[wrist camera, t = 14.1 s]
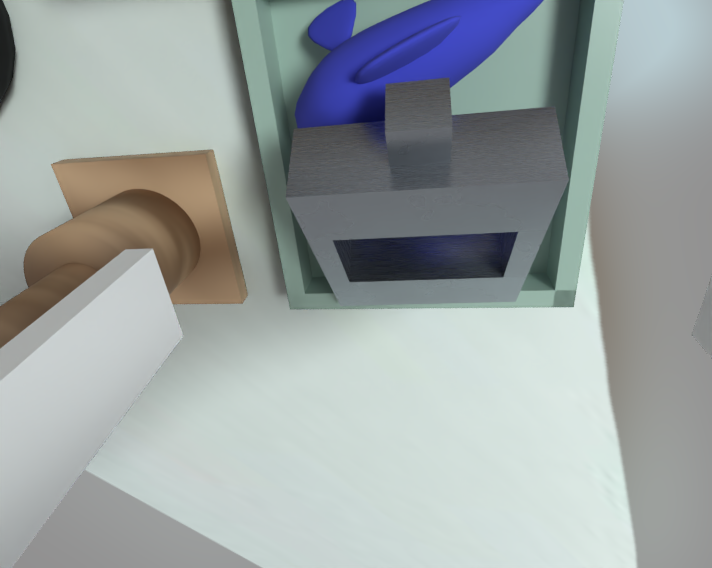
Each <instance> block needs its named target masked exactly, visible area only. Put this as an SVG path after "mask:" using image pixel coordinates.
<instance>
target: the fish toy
mask: <svg viewBox="0 0 712 568" xmlns="http://www.w3.org/2000/svg"><path fill="white" fill-rule="evenodd" d="M543 1H544V0H429V1H427V2H424V3H422V4H419V5H417V6H415V7H412V8H410V9H408V10H406V11H403V12H401V13H399V14H396V15H394V16H392V17H390V18H388V19H385V20H383V21H381V22H379V23H377V24H375V25H373V26H371V27H369V28H367V29H365V30H363V31H361V32H359V33H357V34H356V35H354V36H352V32H353V27H354V22H355V18H356V2H355V1H354V0H340V1H339V2H337V3H335V4H333V5H332V6H330V7H328V8H327V9H325V10H324V11H323V12H322V13H321V14H319V15H318V16H317V17H316V18H315V19H314V20H313V22H312V23H311V24H310V26H309V27H308V36H309V37H310V39H311V40H312V41H313V42H314V43H316V44H318V45H320V46H321V47H323V48H325V49H327V50H329V51H331V52H330V53H329V54H327V55H326V56H325V57H324V58H323V60H322V61H321V62H320V63H319V64H318V66H317V67H316V68H315V69H314V71H313V72H312V73H311V75H310V77H309V78H308V80H307V82H306V84H305V86H304V88H303V90H302V92H301V94H300V96H299V99H298V101H297V104H296V110H295V119H296V123H297V128H308V127H320V126H332V125H343V124H355V123H366V122H378V121H385V89H386V84H389V83H399V82H409V81H419V80H429V79H439V78H449V80H450V88H451V87H452V86H454V85H455V84H456V83H458V82H459V81H460V80H461V79H463V78H464V77H465V76H467V75H468V74H469V73H470V72H472V71H473V70H474V69H476V68H477V67H478V66H479V65H480V64H481V63H483V62H484V61H485V60H486V59H487V58H488V57H489V56H491V55H492V54H493V53H494V52H495V51H496V50H497V49H498V48H499V47H500V46H501V44H502V43H503V42H504V41H505V40H506V39H507V38H508V37H509V36H510V35H511V34H512V32H513V31H514V30H515V29H516V28H517V27H518V26H519V25H520V24H521V23H522V22H523V21H524V20H525V19H526V18H528V17H529V16H530V15H531V14H532V13H533V12H534V11H535V9H536V8H537V7H538V6H539V5H540V4H541V3H542V2H543ZM351 36H352V37H351Z"/></svg>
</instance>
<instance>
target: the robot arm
mask: <svg viewBox="0 0 712 568" xmlns="http://www.w3.org/2000/svg"><path fill="white" fill-rule="evenodd" d="M692 336H693V337H694V338H695V339H696V341H697V342H698V343H699V344H700V345H701V346H702V348H703V349H704V350H705V351H706V352H707V354H708V355H709V356H710V357H711V358H712V276H711V279H710V282H709V286H708V288H707V291H706V294H705V297H704V300H703V303H702V306H701V309H700V312H699V314H698V317H697V320H696V323H695V326H694V329H693V332H692ZM182 337H183V333H182V330H181V327H180V324H179V322H178V319H177V316H176V313H175V310H174V307H173V304H172V302H171V299H170V296H169V293H168V290H167V287H166V285H165V282H164V279H163V276H162V273H161V270H160V267H159V265H158V262H157V259H156V256H155V253H154V250H153V248H152V249H125V250H124V251H123V252H121V253H120V254H119V255H118V256H116V257H115V258H114V259H113V260H111V261H110V262H109V263H108V264H106V265H105V266H104V267H103V268H101V269H100V270H99V271H97V272H96V273H95V274H94V275H92V276H91V277H90V278H89V279H87V280H86V281H85V282H84V283H82V284H81V285H80V286H79V287H77V288H76V289H75V290H74V291H72V292H71V293H70V294H68V295H67V296H66V297H65V298H63V299H62V300H61V301H60V302H58V303H57V304H56V305H55V306H53V307H52V308H51V309H50V310H48V311H47V312H46V313H44V314H43V315H42V316H41V317H39V318H38V319H37V320H36V321H34V322H33V323H32V324H31V325H29V326H28V327H27V328H26V329H24V330H23V331H22V332H21V333H19V334H18V335H17V336H15V337H14V338H13V339H12V340H10V341H9V342H8V343H7V344H5V345H4V346H3V347H2V348H0V568H12V567H13V565H14V564H15V563H16V561H17V560H18V558H19V557H20V556H21V555H22V553H23V552H24V550H25V549H26V548H27V546H28V545H29V544H30V542H31V541H32V540H33V538H34V537H35V536H36V534H37V533H38V532H39V530H40V529H41V528H42V526H43V525H44V523H45V522H46V521H47V519H48V518H49V517H50V515H51V514H52V513H53V511H54V510H55V508H56V507H57V506H58V504H59V503H60V502H61V501H62V499H63V498H64V496H65V495H66V494H67V492H68V491H69V490H70V488H71V487H72V486H73V484H74V483H75V482H76V480H77V479H78V478H79V476H80V475H81V474H82V472H83V471H84V470H85V468H86V467H87V465H88V464H89V463H90V461H91V460H92V459H93V457H94V456H95V455H96V453H97V452H98V451H99V449H100V448H101V447H102V445H103V444H104V443H105V441H106V440H107V438H108V437H109V436H110V434H111V433H112V432H113V430H114V429H115V428H116V426H117V425H118V424H119V422H120V421H121V420H122V418H123V417H124V416H125V414H126V413H127V411H128V410H129V409H130V407H131V406H132V405H133V403H134V402H135V401H136V399H137V398H138V397H139V395H140V394H141V393H142V391H143V390H144V389H145V387H146V386H147V384H148V383H149V382H150V380H151V379H152V378H153V376H154V375H155V374H156V372H157V371H158V370H159V368H160V367H161V366H162V364H163V363H164V361H165V360H166V359H167V357H168V356H169V355H170V353H171V352H172V351H173V349H174V348H175V347H176V345H177V344H178V343H179V341H180V340H181V339H182Z"/></svg>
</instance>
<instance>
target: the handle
mask: <svg viewBox="0 0 712 568" xmlns="http://www.w3.org/2000/svg"><path fill="white" fill-rule="evenodd" d="M51 166H52V168H53V170H54V173H55V175H56V178H57V180H58V182H59V185H60V187H61V190H62V192H63V195H64V197H65V199H66V202H67V204H68V207H69V209H70V211H71V214H72V216H73V219H71V220H69V221H67V222H66V223H64V224H62V225H60V226H58V227H56V228H55V229H53V230H51V231H49V232H47V233H45V234H44V235H42V236H40V237H38V238H37V239H36V240H34V241H33V242H32V243H31V244H30V246H29V247H28V249H27V251H26V254H25V257H24V275H25V279H26V282H27V285H28V287H29V288H27V289H26V290H24V291H23V292H21V293H20V294H18V295H17V296H15V297H14V298H12V299H11V300H9V301H8V302H6V303H5V304H3V305H1V306H0V348H2V347H3V346H4V345H5V344H7V343H8V342H9V341H10V340H12V339H13V338H14V337H15V336H17V335H18V334H19V333H21V332H22V331H23V330H24V329H26V328H27V327H28V326H29V325H31V324H32V323H33V322H34V321H36V320H37V319H38V318H39V317H41V316H42V315H43V314H44V313H46V312H47V311H48V310H50V309H51V308H52V307H53V306H55V305H56V304H57V303H58V302H60V301H61V300H62V299H63V298H65V297H66V296H67V295H68V294H70V293H71V292H72V291H74V290H75V289H76V288H77V287H79V286H80V285H81V284H82V283H84V282H85V281H86V280H87V279H89V278H90V277H91V276H92V275H94V274H95V273H96V272H97V271H99V270H100V269H101V268H103V267H104V266H105V265H106V264H108V263H109V262H110V261H111V260H113V259H114V258H115V257H116V256H118V255H119V254H120V253H121V252H123V251H124V250H125V249H152V248H153V250H154V253H155V256H156V259H157V262H158V265H159V267H160V270H161V273H162V276H163V279H164V282H165V285H166V287H167V290H168V293H169V296H170V299H171V302H172V304H237V303H243V302H244V300H245V299H246V297H247V296H248V293H247V289H246V285H245V281H244V277H243V273H242V268H241V264H240V260H239V256H238V252H237V247H236V243H235V239H234V235H233V231H232V226H231V222H230V218H229V214H228V210H227V206H226V201H225V197H224V193H223V189H222V185H221V180H220V176H219V172H218V168H217V164H216V159H215V155H214V151H213V150H200V151H185V152H171V153H156V154H141V155H126V156H111V157H96V158H81V159H67V160H61V161H59V162H56V163H53V164H51Z"/></svg>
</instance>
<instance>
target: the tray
mask: <svg viewBox="0 0 712 568" xmlns="http://www.w3.org/2000/svg"><path fill="white" fill-rule="evenodd" d="M231 1H232V6H233V11H234V16H235V22H236V27H237V32H238V38H239V43H240V48H241V53H242V59H243V64H244V69H245V74H246V80H247V85H248V90H249V95H250V101H251V106H252V111H253V116H254V122H255V127H256V132H257V137H258V143H259V148H260V153H261V158H262V164H263V169H264V174H265V180H266V185H267V190H268V195H269V201H270V206H271V211H272V216H273V222H274V227H275V232H276V237H277V243H278V248H279V253H280V258H281V264H282V269H283V274H284V279H285V285H286V290H287V295H288V300H289V306H290V309H392V308H522V307H574V301H575V295H576V289H577V283H578V276H579V270H580V264H581V258H582V252H583V246H584V240H585V234H586V228H587V222H588V215H589V209H590V203H591V197H592V191H593V185H594V179H595V173H596V167H597V160H598V154H599V148H600V142H601V136H602V130H603V123H604V118H605V112H606V105H607V99H608V93H609V87H610V81H611V75H612V68H613V63H614V57H615V51H616V44H617V38H618V32H619V26H620V20H621V14H622V8H623V2H624V0H544V1H543V2H542V3H541V4H540V5H539V6H538V7H537V8H536V9H535V11H534V12H533V13H532V14H531V15H530V16H529V17H528V18H526V19H525V20H524V21H523V22H522V23H521V24H520V25H519V26H518V27H517V28H516V29H515V30H514V31H513V32H512V34H511V35H510V36H509V37H508V38H507V39H506V40H505V41H504V42H503V43H502V44H501V46H500V47H499V48H498V49H497V50H496V51H495V52H494V53H493V54H492V55H491V56H489V57H488V58H487V59H486V60H485V61H484V62H483V63H481V64H480V65H479V66H478V67H477V68H476V69H474V70H473V71H472V72H470V73H469V74H468V75H467V76H465V77H464V78H463V79H461V80H460V81H459V82H458V83H456V84H455V85H454V86H452V87H451V88H450V96H451V111H452V115H459V114H471V113H482V112H494V111H505V110H517V109H529V108H540V107H552V106H555V109H556V114H557V119H558V125H559V130H560V135H561V141H562V146H563V151H564V156H565V162H566V167H567V172H568V177H569V181H568V183H567V186H566V188H565V190H564V193H563V195H562V197H561V199H560V202H559V204H558V206H557V209H556V211H555V213H554V215H553V218H552V220H551V222H550V225H549V227H548V229H547V231H546V234H545V236H544V238H543V241H542V243H541V245H540V247H539V250H538V252H537V254H536V257H535V259H534V261H533V263H532V266H531V268H530V270H529V273H528V275H527V277H526V279H525V282H524V284H523V286H522V288H521V291H520V293H519V295H518V298H517V300H516V302H488V303H445V304H402V305H359V306H340V304H339V302H338V300H337V298H336V296H335V294H334V292H333V290H332V288H331V286H330V284H329V282H328V280H327V279H326V277H325V275H324V273H323V271H322V269H321V267H320V265H319V263H318V261H317V259H316V257H315V255H314V253H313V251H312V249H311V247H310V245H309V243H308V241H307V239H306V237H305V235H304V233H303V231H302V229H301V227H300V225H299V223H298V221H297V219H296V217H295V215H294V213H293V211H292V209H291V207H290V205H289V204H288V202H287V200H286V190H287V181H288V173H289V164H290V156H291V147H292V139H293V131H294V129H297V123H296V119H295V110H296V104H297V101H298V99H299V96H300V94H301V92H302V90H303V88H304V86H305V84H306V82H307V80H308V78H309V77H310V75H311V73H312V72H313V71H314V69H315V68H316V67H317V66H318V64H319V63H320V62H321V61H322V60H323V58H324V57H325V56H326V55H327V54H329V53H330V52H331V51H329V50H327V49H325V48H323V47H321V46H320V45H318V44H316V43H314V42H313V41H312V40H311V39H310V37H309V36H308V27H309V26H310V24H311V23H312V22H313V20H314V19H315V18H316V17H317V16H318V15H319V14H321V13H322V12H323V11H324V10H325V9H327V8H328V7H330V6H332V5H333V4H335V3H337V2H339V1H340V0H231ZM354 1H355V2H356V18H355V22H354V27H353V32H352V36H354V35H356V34H357V33H359V32H361V31H363V30H365V29H367V28H369V27H371V26H373V25H375V24H377V23H379V22H381V21H383V20H385V19H388V18H390V17H392V16H394V15H396V14H399V13H401V12H403V11H406V10H408V9H410V8H412V7H415V6H417V5H419V4H422V3H424V2H427V1H429V0H354ZM352 36H351V37H352Z"/></svg>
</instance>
